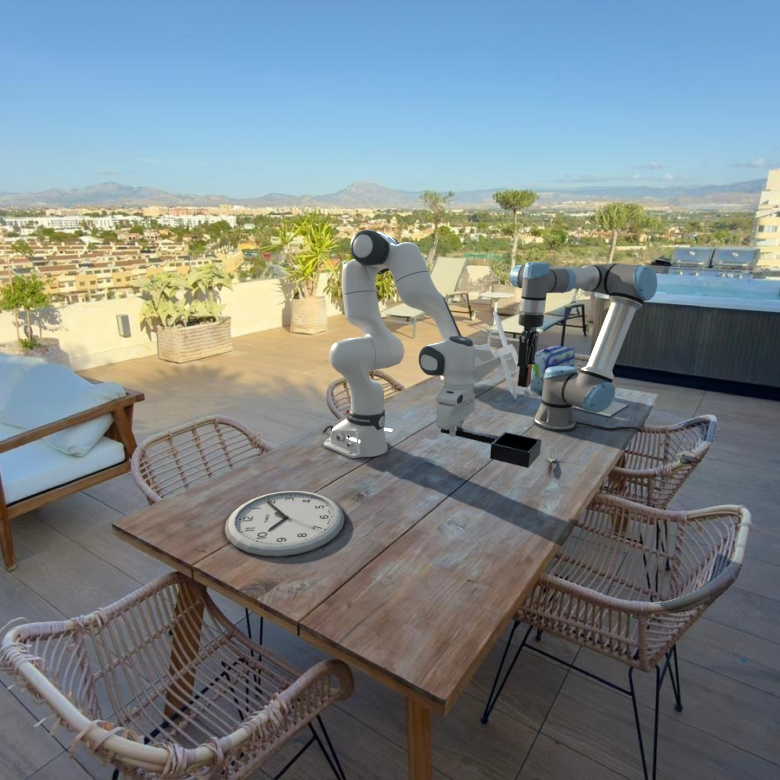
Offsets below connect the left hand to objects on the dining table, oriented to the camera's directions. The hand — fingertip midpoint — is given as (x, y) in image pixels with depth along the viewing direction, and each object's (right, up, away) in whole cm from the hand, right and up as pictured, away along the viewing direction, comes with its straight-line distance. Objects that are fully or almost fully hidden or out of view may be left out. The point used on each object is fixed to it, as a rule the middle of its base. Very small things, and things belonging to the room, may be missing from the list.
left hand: (455, 434), depth 160 cm
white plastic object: (+22, +12, +83) cm, 87 cm away
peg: (+23, +15, +10) cm, 29 cm away
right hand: (+23, +15, +10) cm, 30 cm away
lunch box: (+56, +13, +87) cm, 104 cm away
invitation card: (+71, +6, +66) cm, 97 cm away
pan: (+9, -4, -4) cm, 10 cm away
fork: (+32, -11, +9) cm, 35 cm away
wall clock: (-47, -20, -26) cm, 57 cm away
